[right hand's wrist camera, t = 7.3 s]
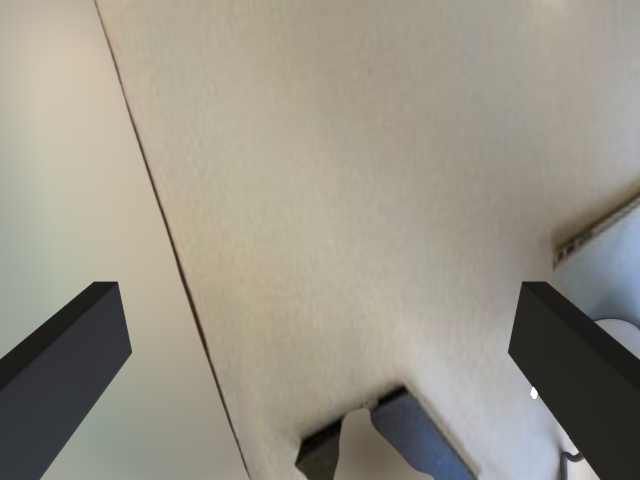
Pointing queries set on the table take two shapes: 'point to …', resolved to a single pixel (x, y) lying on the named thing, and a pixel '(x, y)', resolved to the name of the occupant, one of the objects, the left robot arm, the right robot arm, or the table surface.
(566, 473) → the left robot arm
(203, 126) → the table surface
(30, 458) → the right robot arm
